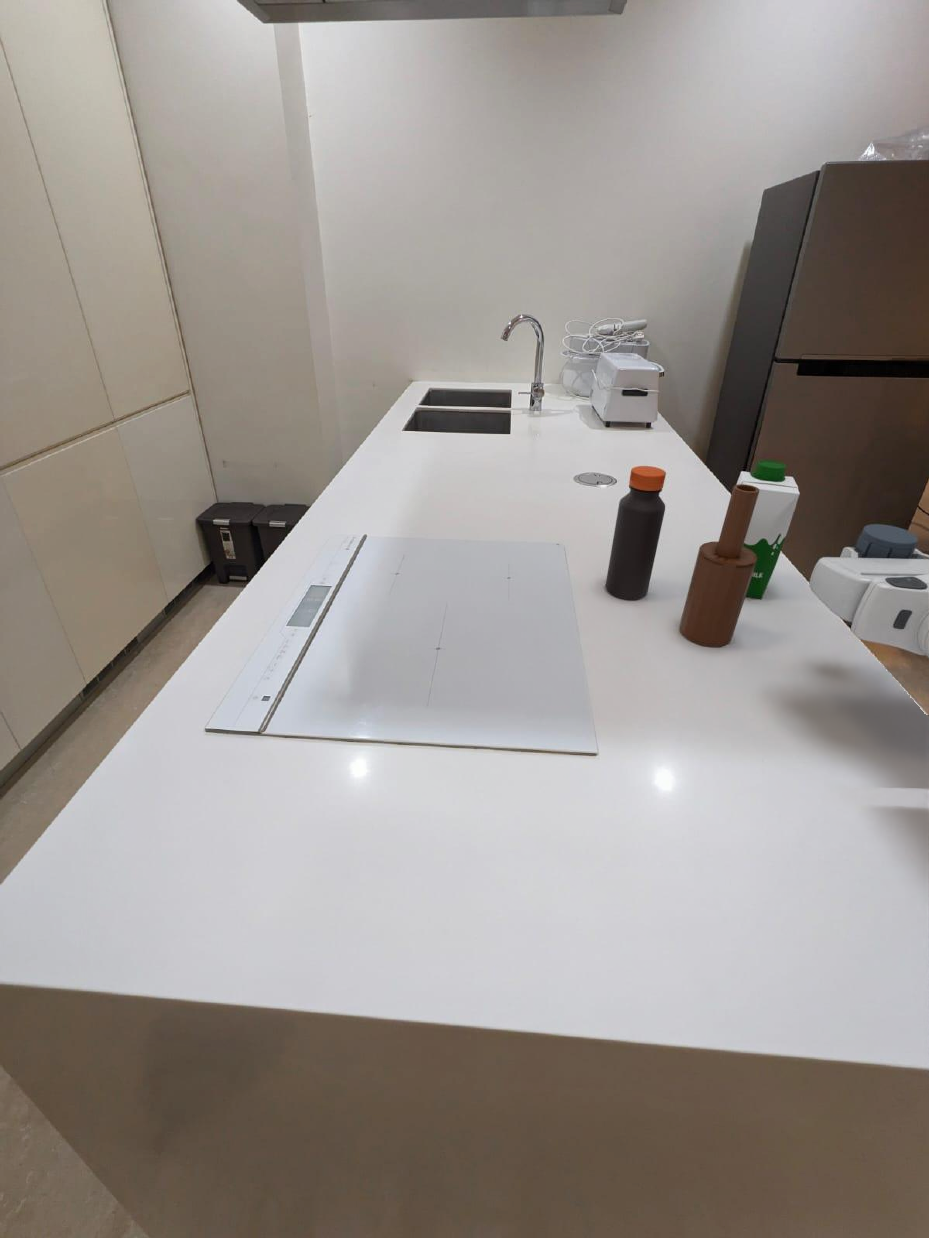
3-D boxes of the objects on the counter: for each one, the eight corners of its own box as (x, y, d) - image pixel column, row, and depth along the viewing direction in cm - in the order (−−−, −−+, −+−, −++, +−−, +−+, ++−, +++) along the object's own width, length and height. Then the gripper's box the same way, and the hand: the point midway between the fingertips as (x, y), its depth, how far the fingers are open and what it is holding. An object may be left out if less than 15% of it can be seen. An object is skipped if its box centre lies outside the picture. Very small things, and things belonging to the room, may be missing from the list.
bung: (873, 583, 73) (900, 524, 69) (899, 605, 69) (929, 543, 64) (830, 582, 73) (854, 523, 69) (853, 604, 69) (880, 542, 65)
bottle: (703, 615, 89) (743, 475, 77) (742, 639, 83) (790, 493, 72) (668, 626, 86) (704, 483, 74) (706, 652, 81) (750, 502, 69)
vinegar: (633, 605, 91) (658, 482, 80) (596, 590, 95) (615, 470, 84) (654, 590, 95) (681, 471, 84) (618, 576, 99) (639, 460, 88)
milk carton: (763, 578, 99) (801, 463, 89) (768, 603, 92) (810, 481, 81) (709, 569, 102) (740, 456, 91) (710, 593, 95) (743, 474, 84)
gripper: (1080, 589, 56) (977, 530, 67) (864, 584, 56) (799, 527, 68) (1044, 643, 59) (952, 578, 71) (840, 638, 59) (782, 574, 71)
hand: (875, 553), depth 69 cm, fingers closed on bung, 5 cm apart
